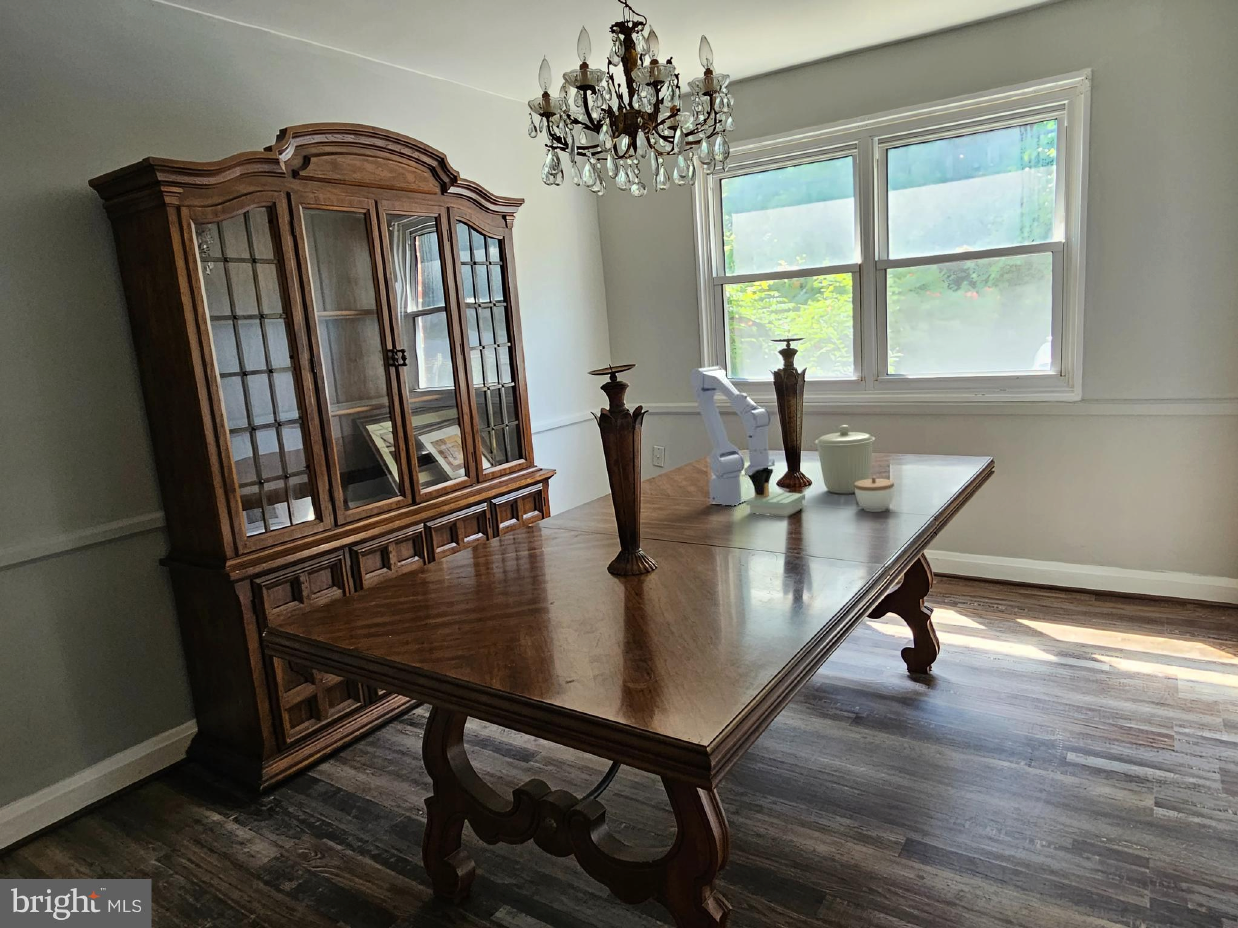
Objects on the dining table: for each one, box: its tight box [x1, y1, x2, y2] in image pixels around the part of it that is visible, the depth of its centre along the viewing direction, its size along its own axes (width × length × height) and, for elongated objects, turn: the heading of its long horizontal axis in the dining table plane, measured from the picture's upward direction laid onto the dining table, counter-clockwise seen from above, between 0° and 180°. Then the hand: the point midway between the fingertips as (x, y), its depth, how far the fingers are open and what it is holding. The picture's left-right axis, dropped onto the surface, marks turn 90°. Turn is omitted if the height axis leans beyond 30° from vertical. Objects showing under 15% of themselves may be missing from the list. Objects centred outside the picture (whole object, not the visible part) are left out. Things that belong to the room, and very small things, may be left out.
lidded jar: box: [854, 476, 895, 513], centre depth 217 cm, size 11×11×9 cm
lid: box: [745, 483, 806, 508], centre depth 226 cm, size 13×11×6 cm
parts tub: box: [749, 501, 804, 518], centre depth 226 cm, size 12×10×4 cm
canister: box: [814, 424, 876, 495], centre depth 242 cm, size 18×18×21 cm
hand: (761, 493), depth 229 cm, fingers closed on lid
